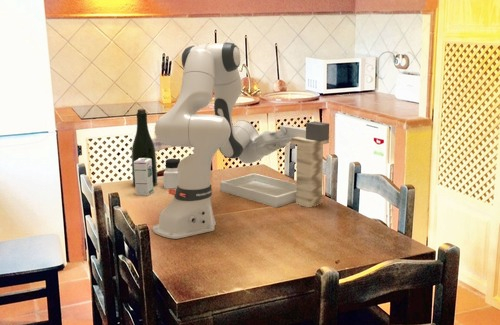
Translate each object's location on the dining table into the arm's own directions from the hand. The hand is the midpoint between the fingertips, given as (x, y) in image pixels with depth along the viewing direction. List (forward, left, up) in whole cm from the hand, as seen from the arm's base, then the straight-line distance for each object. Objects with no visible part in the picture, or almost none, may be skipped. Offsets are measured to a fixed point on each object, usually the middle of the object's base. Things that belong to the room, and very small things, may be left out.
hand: (289, 129), depth 236 cm
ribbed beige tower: (0, -10, -28) cm, 30 cm away
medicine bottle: (-21, +48, -28) cm, 59 cm away
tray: (-2, +12, -28) cm, 30 cm away
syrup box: (-36, +48, -28) cm, 66 cm away
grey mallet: (0, -7, -2) cm, 7 cm away
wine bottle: (-28, +59, -28) cm, 71 cm away
